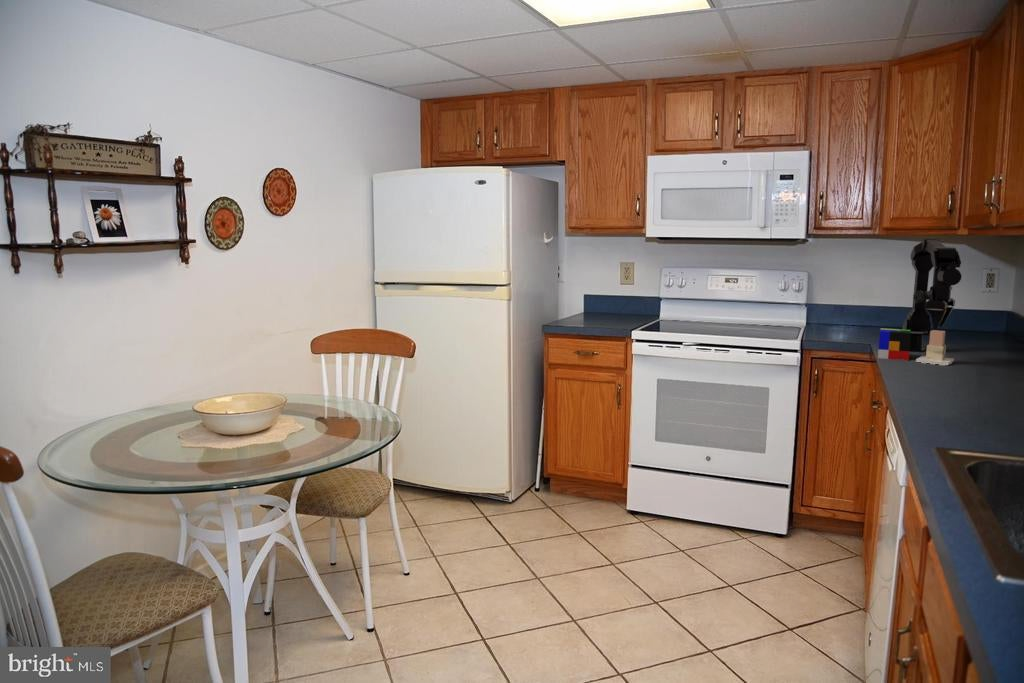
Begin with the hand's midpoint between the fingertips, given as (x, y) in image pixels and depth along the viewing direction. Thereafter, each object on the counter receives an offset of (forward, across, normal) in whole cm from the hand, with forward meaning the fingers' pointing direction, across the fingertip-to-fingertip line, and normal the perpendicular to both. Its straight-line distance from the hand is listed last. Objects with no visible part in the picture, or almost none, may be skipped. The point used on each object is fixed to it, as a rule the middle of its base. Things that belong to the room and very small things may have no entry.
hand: (938, 327), depth 257 cm
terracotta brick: (+6, 0, 0) cm, 6 cm away
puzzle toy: (+13, -2, -14) cm, 19 cm away
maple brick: (+11, 0, 0) cm, 11 cm away
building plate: (+12, 0, 0) cm, 12 cm away
